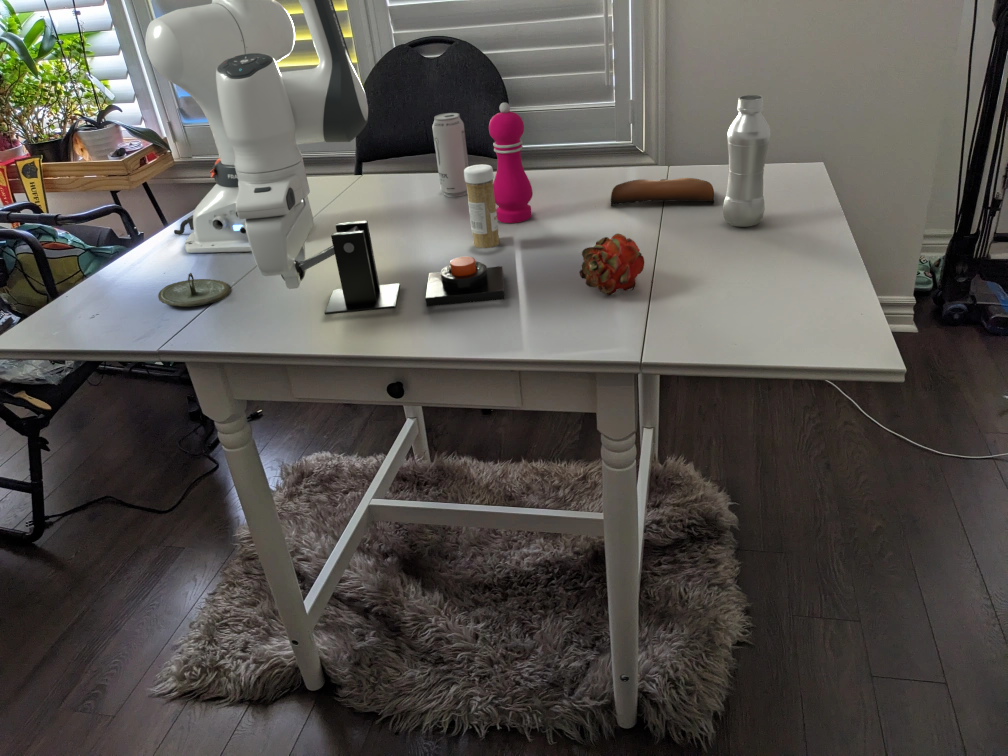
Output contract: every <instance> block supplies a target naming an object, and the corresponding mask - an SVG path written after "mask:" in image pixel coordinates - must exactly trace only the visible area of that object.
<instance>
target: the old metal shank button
mask: <svg viewBox="0 0 1008 756" xmlns="http://www.w3.org/2000/svg"><path fill="white" fill-rule="evenodd" d="M230 291H231V288H230V287H229V285H228V283H227V282H225V281H223V280H220V279H219V280H218V279H210V278H197V279H195V278H194V275H193V273H192V272H189V273H188V276H187V280H181V281H177V282H174V283H173V282H172V283H171V284H170V283H169V284H168V285H165V286H164V287H163V288H161V290H160V291H159V292H158V294H157V299H158V301H159V302H161V303H162V304H165V305H168V306H174V307H199V306H203V305H208V304H213V303H216V302H219V301H221V300H223V299H225V298H226V297H227V296H229V294H230Z"/></svg>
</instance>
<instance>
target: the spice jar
mask: <svg viewBox="0 0 1008 756" xmlns="http://www.w3.org/2000/svg"><path fill="white" fill-rule="evenodd" d="M464 177H465V182H466V185H467V192H468V193H467V203H468V212H469V220H470V227H471V228H470V229H471V233H472V241H473V247H476V248H478V249H491V248H495V247H497V246H499V244H500V235H499V221H498V220H497V213H496V209H497V204H496V203H495V198H494V189H493V182H494V179H495V176H494V169H493V166H491V165H489V164H485V163H484V164H481V163H480V164H473V165H470V166H469V167H467V168H466V169H465V170H464Z"/></svg>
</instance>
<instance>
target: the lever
mask: <svg viewBox="0 0 1008 756" xmlns="http://www.w3.org/2000/svg"><path fill="white" fill-rule="evenodd" d="M351 231H360V230H359V229H358V227H357V226H355V227H353V228H352V229H350V230H348V231H346V232H351ZM365 240H366V239H365ZM333 256H335V253H334V248H333V245H330V246H329V247H327V248H326V249H323V250H321V251H319V252H318V253H316V254H314V255H312V256H311V257H309V258H306V259H305V261H303V262H301V263H300V262H298V261H296V260H295V268H296V271H297V272H299V275H300V280H301V282H302V281H303V280H304V278H305V276H306V273H305V270H307V271H308V269H310V268H312V267H314V266H316V265H318V264H319V263H322V262H324V261H325V260H327V259H329V258H331V257H333ZM280 276H281V278H282V280H283V281H284V282H285V279H284V277H283V275H280Z"/></svg>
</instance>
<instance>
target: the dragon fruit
mask: <svg viewBox="0 0 1008 756" xmlns="http://www.w3.org/2000/svg"><path fill="white" fill-rule="evenodd" d="M581 256H582V258H583V262H582V264H581V266H580V267H581V269H580V270H579V272H578V273H579V276H580V278H581V280H585V284H586V286H587V287H589V288H596V289H597V288H598V289H597V290H599V292H600V293H602V294H605V295H607V296H612V295H614V294H616V293H617V291H618V290H622V291H624V292H625V291H629V290H630V292H631V291H633V290H635V288H636V286H637V283H636V279H637V277H638V275H640V274H641V273H642V272H643V271H644V268H645V258H644V255H642V253H641V252H640V248H639V246H638V245H637V243H636V242H635V241H634V239H632V238H630V237H629V238H627V237H626V235H624V234H621V233H615V234H613V236H611V238H610V237H607V236H605V237H602V238H601V239H599V240H597V241H596V242H595V245H594V246H590V247H585V248H583V249H582V251H581Z"/></svg>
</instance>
